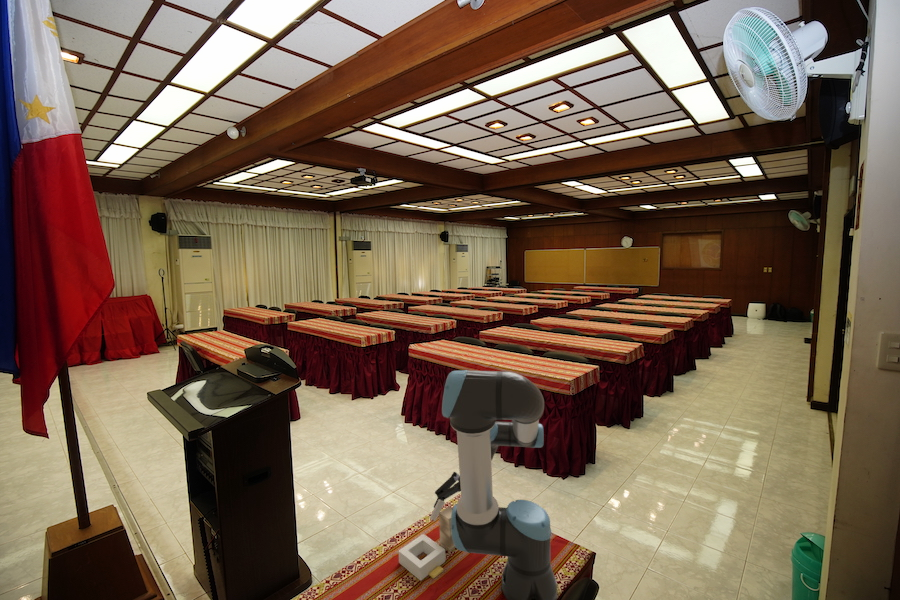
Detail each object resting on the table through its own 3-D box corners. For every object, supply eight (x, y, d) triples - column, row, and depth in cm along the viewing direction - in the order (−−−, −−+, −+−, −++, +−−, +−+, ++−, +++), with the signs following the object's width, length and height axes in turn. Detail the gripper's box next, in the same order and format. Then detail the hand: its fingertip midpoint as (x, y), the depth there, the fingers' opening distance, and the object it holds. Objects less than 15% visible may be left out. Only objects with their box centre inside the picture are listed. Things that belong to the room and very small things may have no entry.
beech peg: (459, 544, 128) (458, 512, 127) (450, 551, 125) (449, 519, 124) (449, 537, 132) (448, 506, 130) (440, 544, 128) (438, 513, 127)
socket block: (450, 565, 120) (450, 552, 119) (425, 585, 113) (425, 572, 112) (423, 545, 128) (423, 533, 128) (399, 562, 121) (398, 550, 121)
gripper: (511, 484, 130) (482, 552, 121) (456, 458, 147) (427, 516, 138) (500, 475, 125) (470, 545, 117) (445, 450, 143) (414, 508, 134)
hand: (446, 529), depth 127 cm, fingers open, 13 cm apart
